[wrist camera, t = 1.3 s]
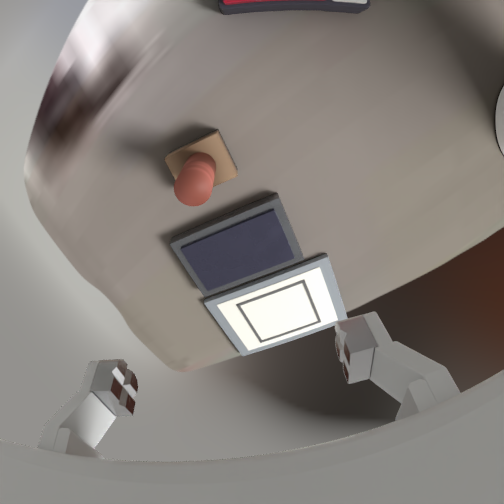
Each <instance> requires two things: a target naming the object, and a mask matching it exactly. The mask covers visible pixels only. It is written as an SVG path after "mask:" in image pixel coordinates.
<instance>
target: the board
mask: <svg viewBox="0 0 504 504" xmlns="http://www.w3.org/2000/svg"><path fill="white" fill-rule="evenodd" d="M204 304H205V305H206V307H207V308H208V310H209V311H210V312H211V314H212V315H213V317H214V318H215V319H216V321H217V322H218V324H219V325H220V326H221V328H222V329H223V330H224V332H225V333H226V335H227V336H228V337H229V339H230V340H231V341H232V343H233V344H234V345H235V347H236V348H237V349H238V351H239V352H240V353H241V355H242V356H245V355H248V354H251V353H254V352H258V351H261V350H264V349H267V348H271V347H274V346H277V345H280V344H283V343H286V342H289V341H291V340H295V339H298V338H301V337H303V336H306V335H309V334H312V333H315V332H317V331H320V330H323V329H326V328H328V327H331V326H334V325H335V323H336V322H337V321H341V320H345V319H348V318H347V315H346V312H345V308H344V305H343V302H342V298H341V295H340V292H339V289H338V286H337V282H336V279H335V276H334V273H333V270H332V267H331V264H330V261H329V258H328V255H327V253H326V254H324V255H321V256H319V257H316V258H314V259H311V260H308V261H306V262H303V263H301V264H298V265H295V266H293V267H290V268H288V269H285V270H282V271H280V272H277V273H275V274H272V275H269V276H267V277H264V278H261V279H259V280H256V281H253V282H251V283H248V284H245V285H243V286H240V287H237V288H234V289H232V290H229V291H226V292H224V293H221V294H218V295H215V296H213V297H210V298H207V299H204Z"/></svg>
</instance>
